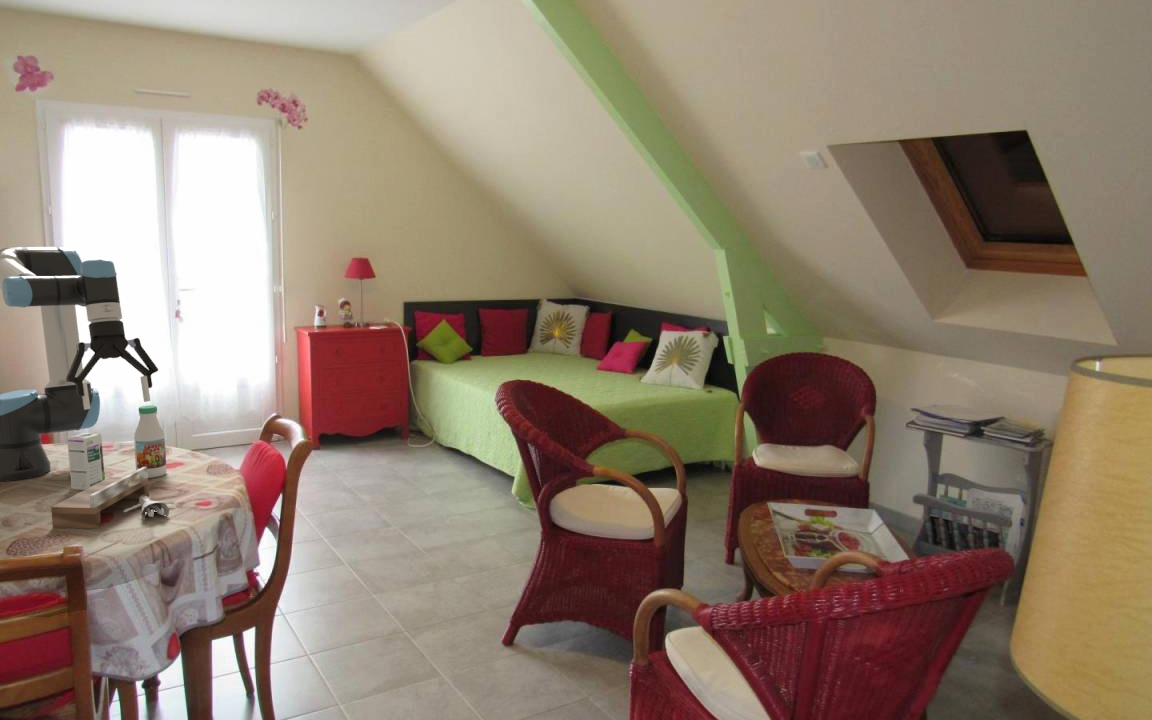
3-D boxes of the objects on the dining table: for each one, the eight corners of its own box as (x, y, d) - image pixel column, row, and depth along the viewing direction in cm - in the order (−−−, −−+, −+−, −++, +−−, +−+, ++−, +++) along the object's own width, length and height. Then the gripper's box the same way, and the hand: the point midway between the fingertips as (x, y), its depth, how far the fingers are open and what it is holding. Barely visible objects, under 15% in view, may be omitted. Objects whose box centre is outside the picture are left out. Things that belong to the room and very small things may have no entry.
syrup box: (89, 490, 214) (85, 438, 212) (70, 489, 216) (66, 436, 213) (105, 484, 220) (102, 433, 218) (87, 483, 221) (83, 431, 219)
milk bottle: (130, 476, 228) (125, 407, 225) (153, 469, 235) (149, 402, 232) (149, 480, 225) (145, 410, 222) (172, 473, 232) (169, 405, 229)
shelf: (110, 495, 211) (108, 466, 210) (150, 496, 211) (148, 466, 210) (52, 527, 187) (50, 494, 186) (97, 528, 187) (95, 495, 186)
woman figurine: (129, 509, 188) (116, 494, 202) (131, 528, 189) (117, 512, 203) (183, 500, 195) (167, 486, 209) (184, 518, 196) (168, 503, 210)
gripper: (51, 323, 190) (64, 411, 190) (163, 316, 207) (175, 397, 207) (44, 327, 195) (57, 413, 195) (154, 320, 213) (165, 399, 213)
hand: (118, 405), depth 201 cm, fingers open, 13 cm apart
